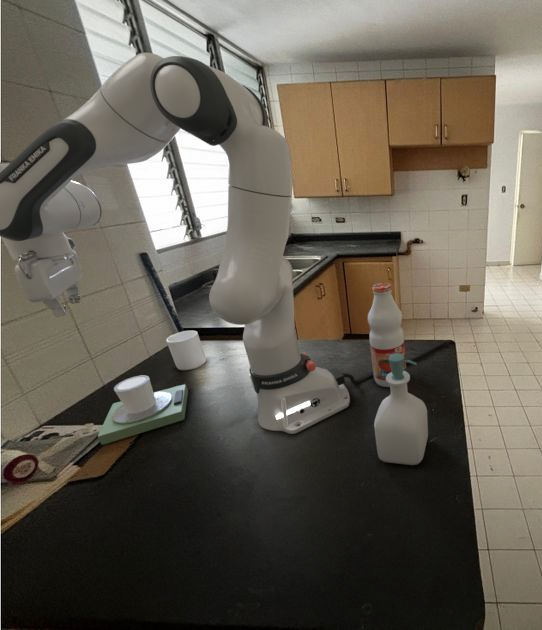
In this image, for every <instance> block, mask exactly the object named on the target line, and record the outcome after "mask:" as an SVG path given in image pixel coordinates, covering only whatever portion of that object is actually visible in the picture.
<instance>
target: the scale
mask: <svg viewBox="0 0 542 630" xmlns="http://www.w3.org/2000/svg"><path fill="white" fill-rule="evenodd" d="M157 392H167V393H169V394H171V396H172V401H171V403H170V404H169V406H168V407H166V408H165V409H164V410H163V411H161V412H160V413H158V414H156V415H154V416H152V417H150V418H148V419H145V420H143V421H140V422H136V423H131V424H117V423H115V422H114V421H113V420H112V415H113V413H114V412H115V410H116V409H117V408H119V407H120V406H121V405H123V403H122V401H121V400H120V401H117V402H113V403H112V405H111V406H110V409H109V411H108V413H107V415H106V417H105V420H104V422H103V424H102V426H101V428H100V430H99V432H98V433H97V438H98V441H99V442H100V444H101V446H103V445H106V444H111V443H114V442H116V441H120V440H123V439H126V438H129V437H133V436H136V435H139V434H141V433H142V434H143V433H146V432H149V431H152V430H155V429H158V428H161V427H166V426H168V425H172V424H175V423H177V422H180V421H184V420H185V418H186V410H187V405H188V397H189V396H188V395H189V389H188V386H187V384H186V383H184V384H183V383H182V384H180V385H176V386H173V387H169V388H165V389H161V390H158V391H157Z"/></svg>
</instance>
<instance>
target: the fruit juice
mask: <svg viewBox="0 0 542 630" xmlns="http://www.w3.org/2000/svg"><path fill="white" fill-rule="evenodd" d="M392 291H393V286H392V284H391V283H388V282H380V283H375V284H373V285H372V293H373V299H372V305H371V308H370V309H369V311H368V313H367V323H368V326H369V329H370V330H369V335H368V337H369V338H368V339H369V348H370V356H371V365H372V372H373V374H374V376H373V379H374V382H375V384H377V386H380V387H383V388H390V384H388V383H387V381H386V376H387V375H388V374H389V373H391V372H392V371H391V367H390V362H389V356H390V355H392V354H402V355H403V356H404V360H407V359H406V346H405V344H406V343H405V333H404V330H403V328H402V322H403V315H402V314H403V313H402V311H401V310H400V308H399V307H398V305H397V304H396V302H395V299H394V297H393V295H392ZM403 371H406V372H407V373H408V371H407V364H406V363H405V362H404V365H403Z"/></svg>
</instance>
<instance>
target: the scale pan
mask: <svg viewBox="0 0 542 630" xmlns="http://www.w3.org/2000/svg"><path fill="white" fill-rule="evenodd" d="M153 393H154V396H155V400H156V403H155V405H154V406H152V407H151V408H149V409H148V410H145V411H143V412H140V413H132V414H131V413H129V412H128V411H127V409H126V408H125V406H124V405H121V406H120V407H119V408H117V409H116V410H115V412H114V413H113V415H112V420H113V421H114V422H115V423H117V424H131V423H136V422H140V421H143V420H145V419H148V418H150V417H152V416H154V415H156V414H158V413H160V412H161V411H163V410H164V409H165V408H166V407H168V406H169V404H170V403H171V401H172V396H171V394H169V393H167V392H158V391H153Z"/></svg>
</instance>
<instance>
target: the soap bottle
mask: <svg viewBox="0 0 542 630" xmlns="http://www.w3.org/2000/svg"><path fill="white" fill-rule="evenodd" d="M389 362H390V367H391V371H392V372H391V373H389V374H388V375H387V376H386V381H387V383H388V384H390V387H389V388H390V394H389V395H388V396H386V397H385V398H384V399H383V400H382V401H381V402H380V405H379V406H378V409H377V412H376V415H375V418H374V422H373V427H374V436H375V445H376V451H377V456H378V459H379V460H380V461H381V462H383V463H389V464H398V465H405V466H408V465H409V466H416V465H419V464H420V463H421V462H422V461H423V459H424V456H425V452H426V446H427V442H428V439H429V427H428V425H429V424H428V409H427V406H426V404H425V402H424V401H423V400H422V399H420V398H419V397H417V396H415V395H414V394H412V393H409V391H408V383H409V381H410V380H411V375H410V373H409V372H408V371H407V370H406V371H407V372H406V371H403V365H404V362H405V363H408V364H411V365H414V366H417V365H418V363H417V362H415V361H410V360H409V359H406V360H404V356H403V355H402V354H392V355H390V356H389Z"/></svg>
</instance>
